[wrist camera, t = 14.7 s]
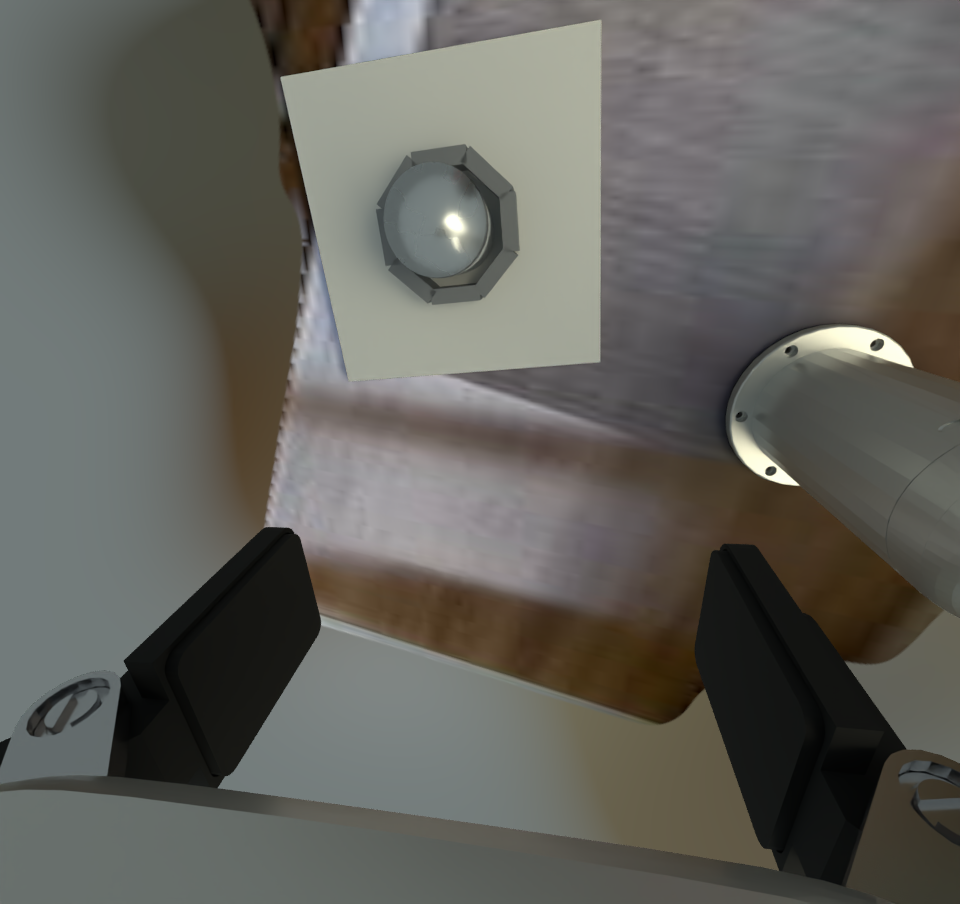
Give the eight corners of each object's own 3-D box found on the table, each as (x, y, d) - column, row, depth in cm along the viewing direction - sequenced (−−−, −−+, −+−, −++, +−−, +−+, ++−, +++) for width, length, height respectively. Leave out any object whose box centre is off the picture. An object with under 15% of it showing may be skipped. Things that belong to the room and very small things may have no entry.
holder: (598, 27, 27) (607, -3, 24) (598, 359, 35) (605, 370, 32) (288, 82, 30) (258, 62, 27) (353, 378, 38) (336, 390, 35)
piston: (489, 178, 30) (478, 150, 23) (500, 268, 32) (493, 270, 25) (408, 193, 31) (372, 171, 23) (424, 280, 33) (395, 285, 25)
